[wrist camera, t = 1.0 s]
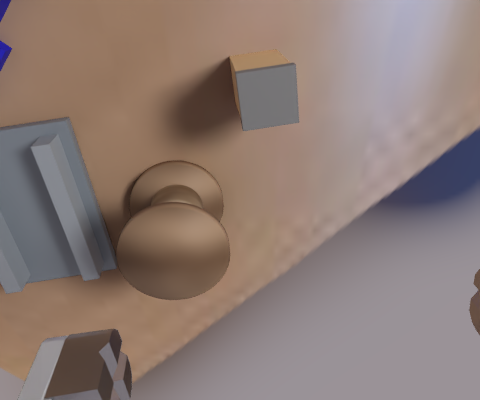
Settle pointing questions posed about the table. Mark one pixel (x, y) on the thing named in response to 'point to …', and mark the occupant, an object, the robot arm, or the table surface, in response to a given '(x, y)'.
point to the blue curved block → (0, 49)
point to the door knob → (174, 232)
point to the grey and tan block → (264, 89)
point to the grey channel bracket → (48, 208)
